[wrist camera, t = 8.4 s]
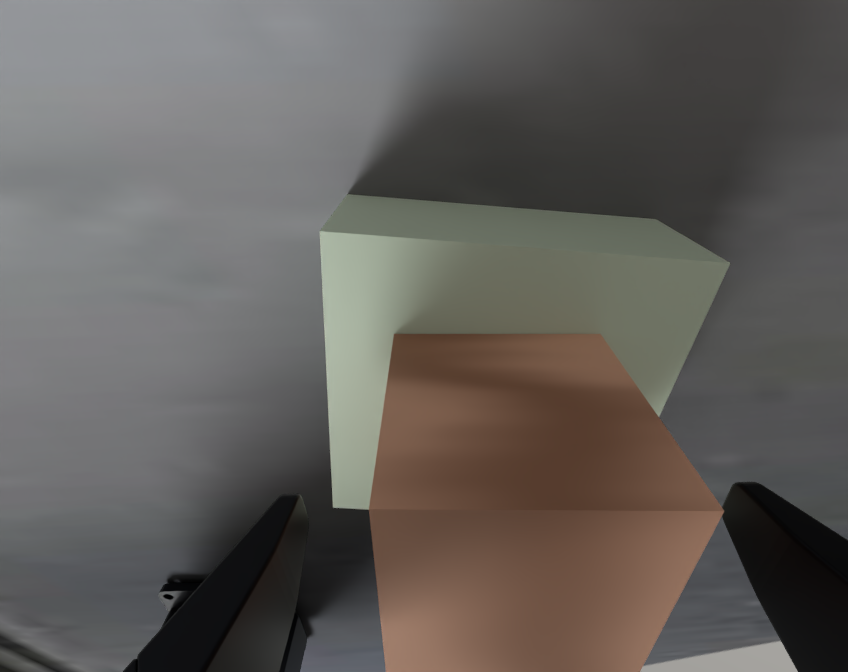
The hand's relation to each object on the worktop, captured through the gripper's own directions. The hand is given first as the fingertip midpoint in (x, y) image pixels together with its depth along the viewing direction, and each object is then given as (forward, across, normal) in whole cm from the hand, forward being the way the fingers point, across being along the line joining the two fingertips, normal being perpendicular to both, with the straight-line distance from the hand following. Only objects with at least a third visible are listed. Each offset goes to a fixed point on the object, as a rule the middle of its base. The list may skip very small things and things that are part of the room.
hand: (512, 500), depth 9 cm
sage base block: (+7, 0, 0) cm, 7 cm away
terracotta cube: (+3, 0, 0) cm, 3 cm away
